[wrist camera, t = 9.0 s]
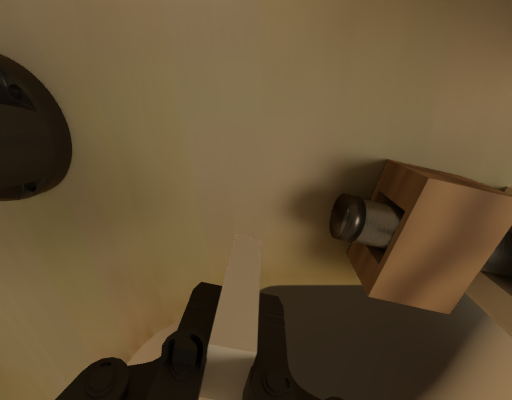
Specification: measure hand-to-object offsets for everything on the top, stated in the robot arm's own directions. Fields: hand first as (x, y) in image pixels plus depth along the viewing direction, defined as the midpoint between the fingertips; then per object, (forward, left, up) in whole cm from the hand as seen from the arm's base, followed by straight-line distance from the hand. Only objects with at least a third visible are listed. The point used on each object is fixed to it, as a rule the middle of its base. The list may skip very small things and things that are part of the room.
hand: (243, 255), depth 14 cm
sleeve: (+17, 0, -14) cm, 22 cm away
